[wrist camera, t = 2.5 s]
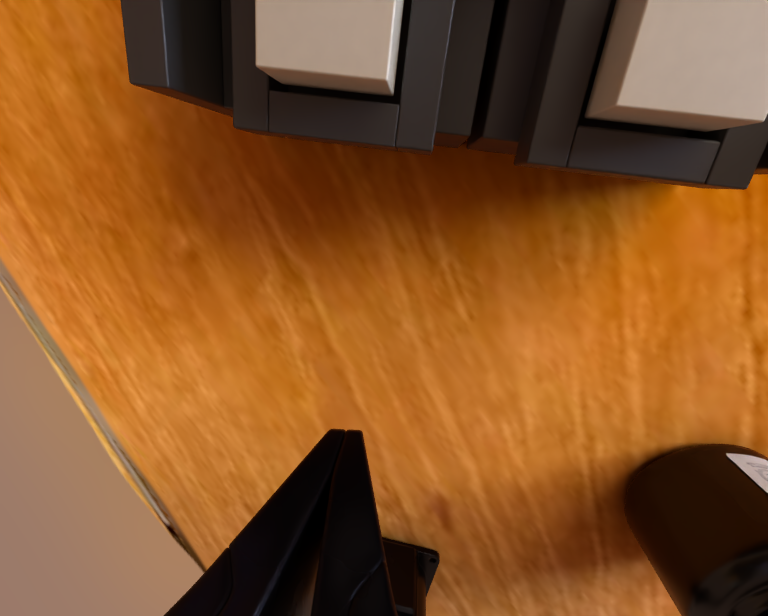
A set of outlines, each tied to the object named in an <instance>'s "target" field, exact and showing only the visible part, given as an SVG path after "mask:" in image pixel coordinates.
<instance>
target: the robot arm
mask: <svg viewBox="0 0 768 616" xmlns="http://www.w3.org/2000/svg"><path fill="white" fill-rule="evenodd" d="M438 564H439V553H438V552H437V551H435V550H431V549H427V548H423V547H419V546H415V545H411V544H407V543H403V542H399V541H395V540H391V539H387V538H383V537H382V536H381V530H380V525H379V519H378V514H377V509H376V503H375V498H374V492H373V487H372V481H371V476H370V471H369V465H368V460H367V454H366V449H365V443H364V438H363V433H362V431H361V430H347V431H345V430H344V429H330V430H329V431H328V432H327V433H326V434H325V435H324V436H323V438H322V439H321V440H320V441H319V442H318V443H317V444H316V446H315V447H314V448H313V449H312V450H311V451H310V453H309V454H308V455H307V456H306V457H305V458H304V459H303V461H302V462H301V463H300V464H299V465H298V466H297V468H296V469H295V470H294V471H293V472H292V473H291V474H290V476H289V477H288V478H287V479H286V480H285V481H284V483H283V484H282V485H281V486H280V487H279V488H278V489H277V491H276V492H275V493H274V494H273V495H272V496H271V498H270V499H269V500H268V501H267V502H266V503H265V504H264V506H263V507H262V508H261V509H260V510H259V511H258V513H257V514H256V515H255V516H254V517H253V518H252V519H251V521H250V522H249V523H248V524H247V525H246V526H245V528H244V529H243V530H242V531H241V532H240V533H239V534H238V536H237V537H236V538H235V539H234V540H233V541H232V543H231V544H230V545H229V548H226V549H225V550H224V551H223V553H222V554H221V555H220V556H219V557H218V558H217V560H216V561H215V562H214V563H213V564H212V565H211V566H210V567H209V569H208V570H207V571H206V572H205V573H204V574H203V575H202V576H201V577H200V579H199V580H198V581H197V582H196V583H195V584H194V585H193V586H192V587H191V588H190V589H189V590H188V591H187V592H186V594H185V595H184V596H183V597H182V598H181V599H180V600H179V601H178V602H177V603H176V604H175V605H174V606H173V607H172V608H171V609H170V610H169V611H168V612H167V613H166V614H165V615H164V616H426V596H427V593H428V590H429V588H430V585H431V583H432V580H433V577H434V575H435V572H436V570H437V567H438Z"/></svg>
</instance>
